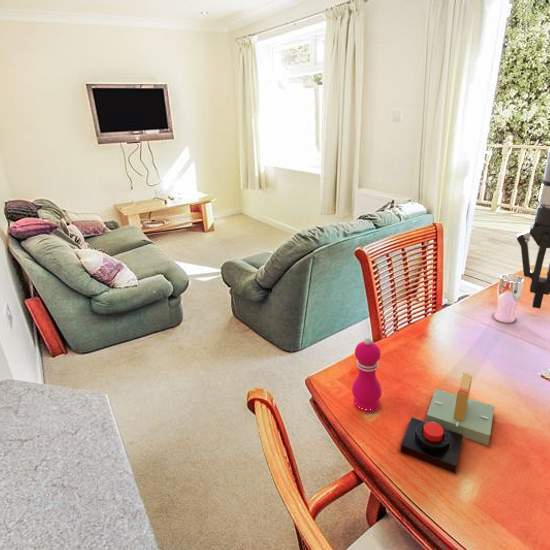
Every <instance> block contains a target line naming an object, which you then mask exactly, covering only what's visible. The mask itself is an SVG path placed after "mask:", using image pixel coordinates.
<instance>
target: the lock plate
mask: <svg viewBox="0 0 550 550" xmlns="http://www.w3.org/2000/svg"><path fill="white" fill-rule="evenodd" d="M456 398H457V393H456V394H455V393H453V392H449V391H445V390H442V389H438V388H435V389H434V393H433V395H432V398H431V401H430V403H429V407H428V410H427V413H426V418H425V422H431V421H432V422H435V423H438V424H441V425H442V426H443V427H445V428H446V429H448V430H450V431H453V432H456V433H459V434H462V435H463V438H465V439H467V440H470V441H473V442H476V443H479V444H482V445H485V446H489V443H490V440H491V433H492V428H493V427H492V425H493V418H494V411H495V405H493V404H489V403H486V402H484V401H479V400H476V399H474V398H473V399H472V398H468V403H467V407H466V411H465V415H464V420H463V421H460V420H457V419H454V411H455V405H456Z"/></svg>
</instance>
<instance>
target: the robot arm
mask: <svg viewBox="0 0 550 550" xmlns="http://www.w3.org/2000/svg"><path fill="white" fill-rule="evenodd" d="M538 203H539V204H538V205H537V207H536V211H535V216H534V220H533V224H532V225H531V226H530V227H529V230H527V231H525V232H518V233H517V236H516V240H517V242H518V244H519V245H520V252H521V262H522V272H523V277H525V278H529V279H531V280H530V286H529V292H530V293H531V294H533V300H532V304H531V305H532V308H534V309H541V308H542V303H543V299H544V295H546V296H549V295H550V262H549V263H548V267H547V273H546V277H541V272H542V269H543V264H544V260H545V256H546V252H547V249H550V148H549V149H548V151H547V158H546V162H545V169H544V173H543V179H542V183H541V188H540V192H539V197H538ZM531 238H532V239H533V241H534V242H535V244H536V245H537V246H538V249H537V253H536V257H535V262H534V267H533V270H531V264H530V253H529V242H530V241H531V240H530V239H531Z"/></svg>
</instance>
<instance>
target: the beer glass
mask: <svg viewBox="0 0 550 550" xmlns="http://www.w3.org/2000/svg"><path fill="white" fill-rule="evenodd" d="M524 284H525V278H524V276H521V275H518V274H513V273H504V274H501V275H500V276H499V281H498V285H497V291H496V301H497V303H496V304H497V305H496V310H495V313H494V315H493V318H494V319H495V320H496V321H498V322H500V323H506V324H510V323H514V322H515V320H516V310H517V307H518V305H519V303H520V300H521V298H522V295H523V292H524Z"/></svg>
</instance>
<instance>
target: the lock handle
mask: <svg viewBox="0 0 550 550" xmlns="http://www.w3.org/2000/svg"><path fill="white" fill-rule="evenodd" d="M472 379H473V374H468V373H465V372H462V374H461V378H460V381H459V385H458V389H457V392H456V395H457V398H456V405H455V411H454V419H457V420H460V421H463V420H464V415H465V411H466V407H467V403H468V398H469V397H470V391H471V385H472ZM469 399H470V398H469Z"/></svg>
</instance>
